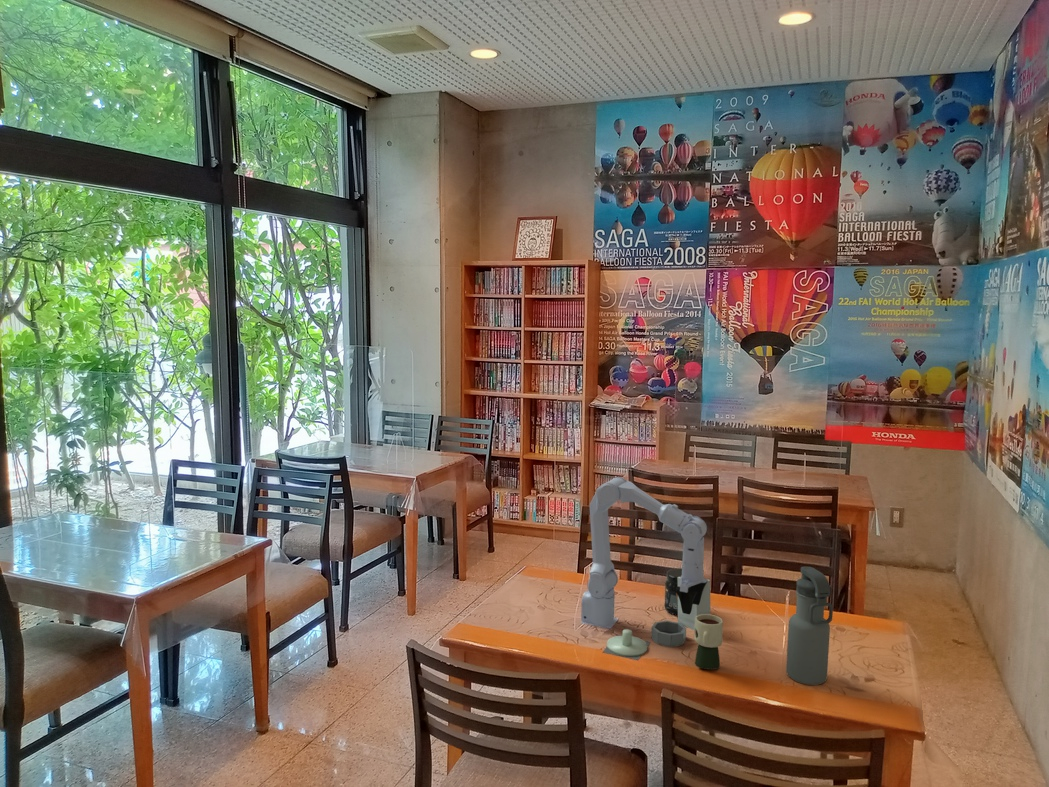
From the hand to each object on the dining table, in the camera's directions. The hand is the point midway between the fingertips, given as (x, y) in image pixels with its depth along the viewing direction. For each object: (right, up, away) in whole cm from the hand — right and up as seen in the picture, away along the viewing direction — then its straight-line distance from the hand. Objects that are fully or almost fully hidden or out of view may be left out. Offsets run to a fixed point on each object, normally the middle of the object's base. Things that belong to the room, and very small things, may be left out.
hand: (690, 608), depth 204 cm
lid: (-18, -10, -3) cm, 21 cm away
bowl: (-6, -10, +2) cm, 12 cm away
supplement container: (+2, -8, +23) cm, 25 cm away
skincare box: (+3, -9, +12) cm, 15 cm away
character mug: (+1, -12, -13) cm, 17 cm away
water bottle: (+26, -13, -18) cm, 34 cm away
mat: (-18, -10, -3) cm, 21 cm away
